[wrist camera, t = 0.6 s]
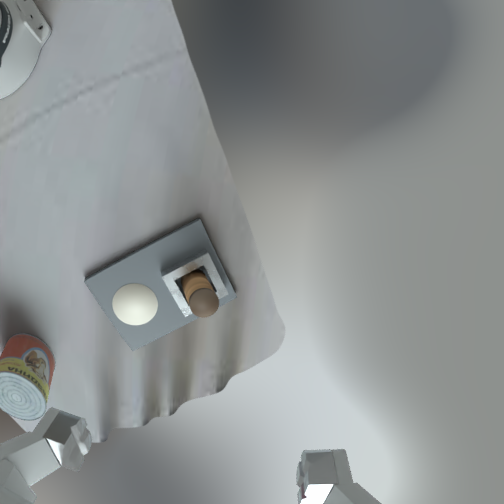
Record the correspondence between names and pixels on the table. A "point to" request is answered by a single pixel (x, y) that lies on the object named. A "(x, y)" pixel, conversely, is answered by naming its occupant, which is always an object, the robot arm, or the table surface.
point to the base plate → (151, 286)
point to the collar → (184, 268)
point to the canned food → (25, 376)
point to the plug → (199, 293)
